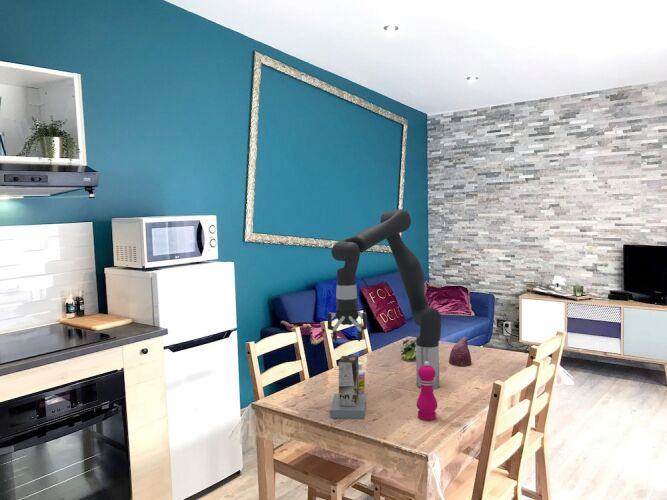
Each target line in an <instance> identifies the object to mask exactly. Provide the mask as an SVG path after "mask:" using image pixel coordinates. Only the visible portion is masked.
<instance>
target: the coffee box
mask: <svg viewBox="0 0 667 500" xmlns="http://www.w3.org/2000/svg"><path fill="white" fill-rule="evenodd" d="M358 361H359V356H358V355H342V356H341V357H340V359H339V361H338V394H339V405H340V406H356V404H357V401H358V399H359V365H358Z"/></svg>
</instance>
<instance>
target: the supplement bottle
mask: <svg viewBox="0 0 667 500" xmlns="http://www.w3.org/2000/svg"><path fill="white" fill-rule="evenodd" d="M358 365H359V394H366V393H365V391H366V390H365V389H366V388H365V387H366V380H365V378H366V377H365V374H366V373H365V370H364V368H363V363H362V361H359V360H358Z"/></svg>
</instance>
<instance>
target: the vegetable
mask: <svg viewBox="0 0 667 500" xmlns="http://www.w3.org/2000/svg"><path fill="white" fill-rule="evenodd" d="M471 357H472V356H471V352H470V349H469V346H468V337H467V336H463V337H461V339H460V340H459V341H458V342H456V343H455V344H454V345H453V347H452V349H451V350H450V354H449V359H448V363H449V364H450V365H451V366H454V367H460V368H466V367H469V366H471V365H472V358H471Z"/></svg>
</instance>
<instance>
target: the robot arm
mask: <svg viewBox="0 0 667 500" xmlns="http://www.w3.org/2000/svg"><path fill="white" fill-rule="evenodd" d="M379 222H380V223H378V224H376V225H373V226H369V227H368V228H365V229H364V230H362V231H359V232H358V233H356V234H355V235H352V236H349V237H346V238H342V239H341V240H339V241H337V242H335V243H334V244H333V246H332V248H331V252H330V253H331V257H332V258H333V259H334V260H336V261H339V262H344V265H343V267H340V268H338V269H337V270H336V288H335V291H336V292H335V293H336V294H335V298H336V299H335V300H336V312H331V311H329V312H328V314H327V330H329V331H332V339H333V341H335V342H338V328H340V325H343V326H346V325H347V326H352V325H353V326H354V327H355V328H356V329H357V333H358V334H357V337H358V338H357V339H358V340H357V341H358V342H361V340H363V331H364V330H367V329H368V321H367V312H365V311H363V312H359V311H358V289H357V270H358V267H359V266H358V265H359V263H360V258H361V257H360V256H361V253H364V252H366V251H368V250H369V249H371V248H373V247H374V246H376V245H377V244H379V243H381V242H382V241H384V240H386V241H387V243H388V246H389V248H390V250H391V253H392V255H393V259H394V261H395V264H396V266H397V269H398V273H399V277H400V280H401V282H402V284H403V287H404V291H405V293H406V296H407V299H408V302H409V306H410V311H411V315H412V319H413V322H414V323H415V325H417V326H418V327H420V328H419V335H418V336H417V337H416V339H415V340H416V348H415V351H416V355H415V369H416V370H415V371H416V372H415V373H416V374H415V377H416V378H415V379H416V380H415V381H416V384H415V385H416V386H417V387H418V388H420V389H421V384H420V377H419V375H418V370H419V368H420V367H421V366H424V362H425V361H428V362H429V366H432V367H433V368H434V369H435V377H434V378H433V379H434V384H433V389H439V388H440V362H439V360H440V359H439V358H440V357H439V355H440V354H439V349H440V348H439V345H440V344H439V343H440V342H439V341H440V340H441V332H442V318H441V317H442V316H441V313H440V311H439V310H438V309H436V307H435V308H434V307H432V306H430V305H429V303H428V301H427V300H428V299H427V298H426V294H425V290H424V289H425V288H424V284H425V282H424V281H425V280H424V279H425V277H424V271H423V269H422V266H421V263H420V260H419V258H418V257H417V256H416V254H415V253H414V252H413V251H412V249H410V248H409V247H408V246H407V245H406V244H405V242H404V241H403V239H402V236H401V234H400V233H404V232H406V231H408V229H410V227H411V224H412V219H411V215H410V214H409V212H408V211H407V210H405V209H400V208H399V209H395V210H389V211H386V212H383V213H382V214H381V216H380V220H379ZM359 317H360V319H362V325H361V324H360V323H359V321H358V320H357V319H358V318H359ZM334 318H336V319H337V322H336V323H335V324H334V325H332V321H333V319H334Z"/></svg>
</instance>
